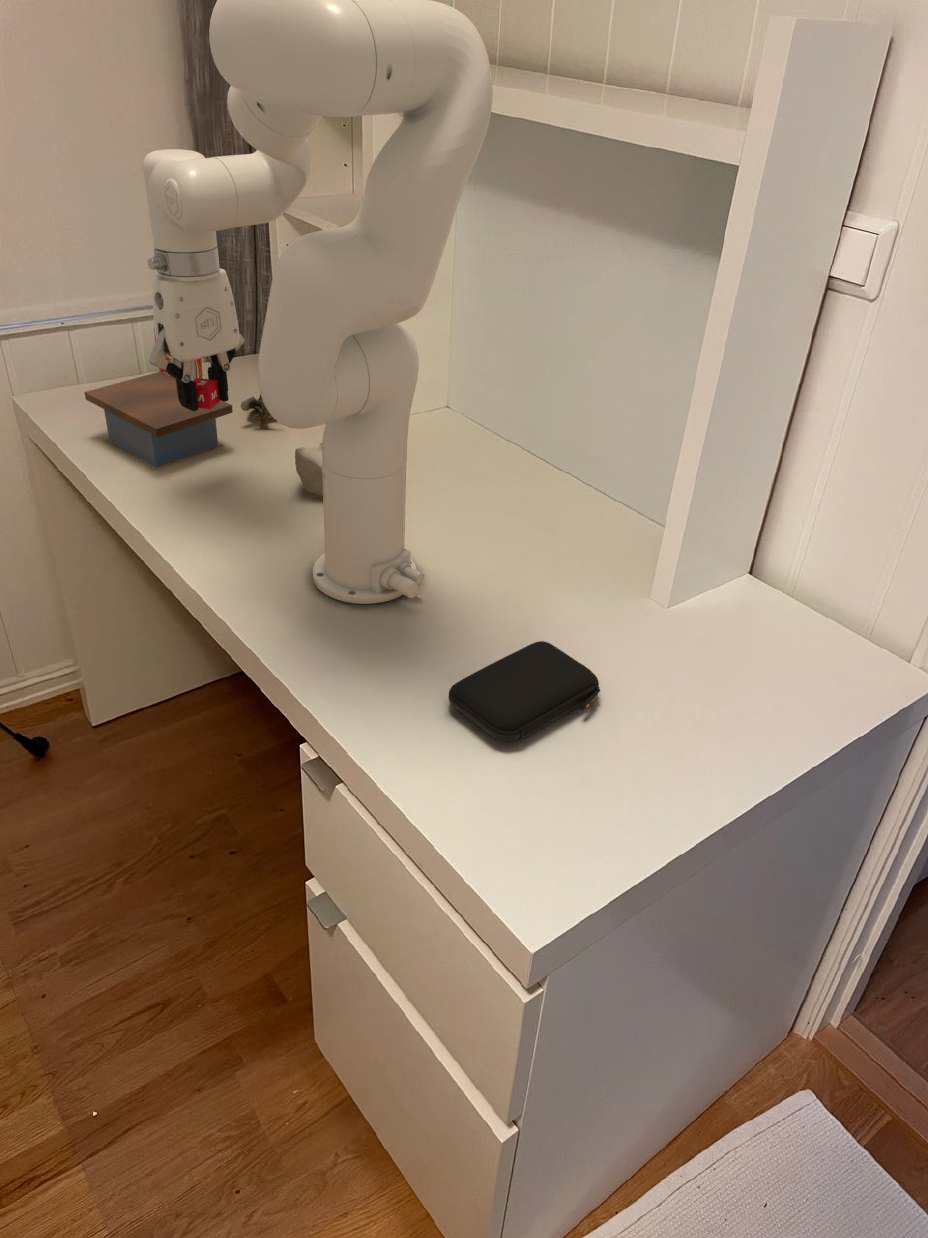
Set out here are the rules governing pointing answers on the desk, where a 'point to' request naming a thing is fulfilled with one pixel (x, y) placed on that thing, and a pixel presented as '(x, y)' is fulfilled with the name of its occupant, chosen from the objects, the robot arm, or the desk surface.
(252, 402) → the eagle figurine
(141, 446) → the box
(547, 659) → the carrying case
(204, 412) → the board
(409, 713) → the desk surface
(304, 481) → the ceramic sculpture
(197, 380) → the dice
